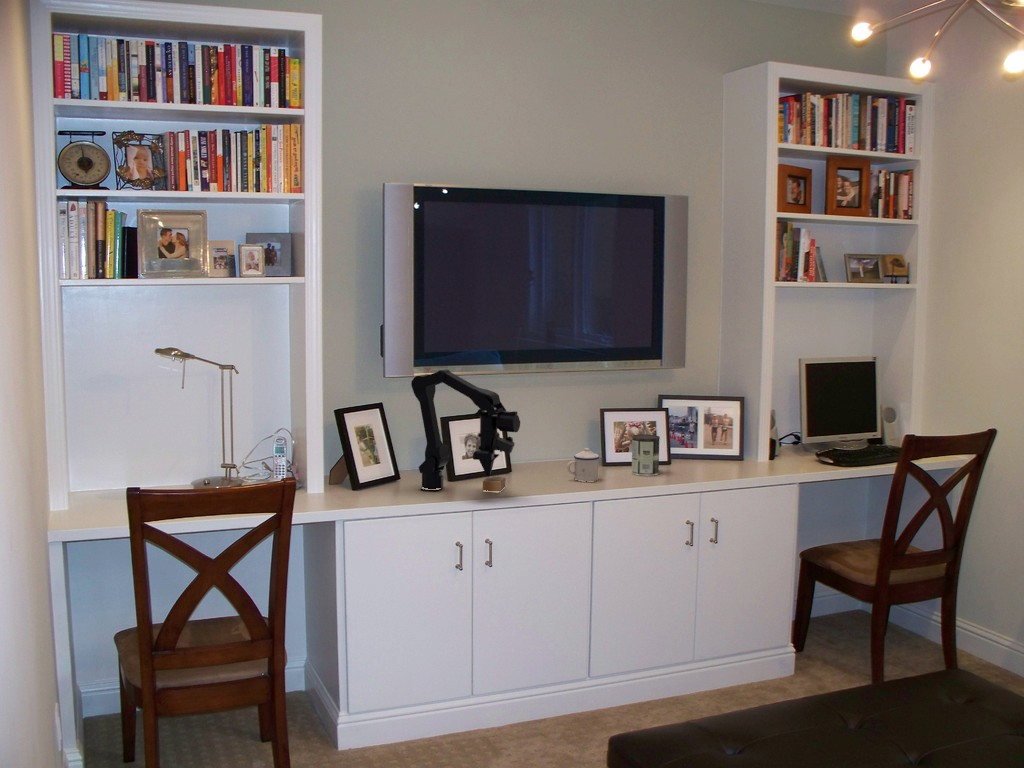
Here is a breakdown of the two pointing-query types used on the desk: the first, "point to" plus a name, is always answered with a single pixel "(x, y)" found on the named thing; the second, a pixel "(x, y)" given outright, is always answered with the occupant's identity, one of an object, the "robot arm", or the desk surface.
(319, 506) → the desk surface
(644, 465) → the coffee can
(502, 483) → the tall walnut block
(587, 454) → the teacup with lid
